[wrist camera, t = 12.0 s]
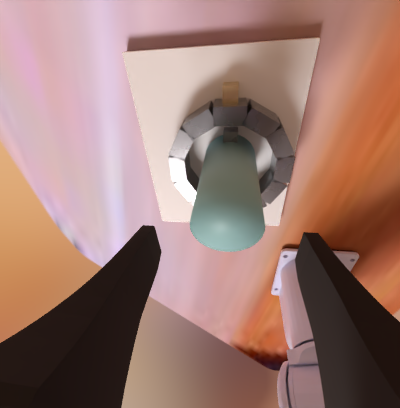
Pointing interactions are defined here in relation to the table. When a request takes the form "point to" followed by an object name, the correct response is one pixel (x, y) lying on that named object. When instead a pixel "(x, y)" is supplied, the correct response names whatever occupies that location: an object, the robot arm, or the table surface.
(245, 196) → the teal peg
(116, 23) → the table surface
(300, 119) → the collar plate
